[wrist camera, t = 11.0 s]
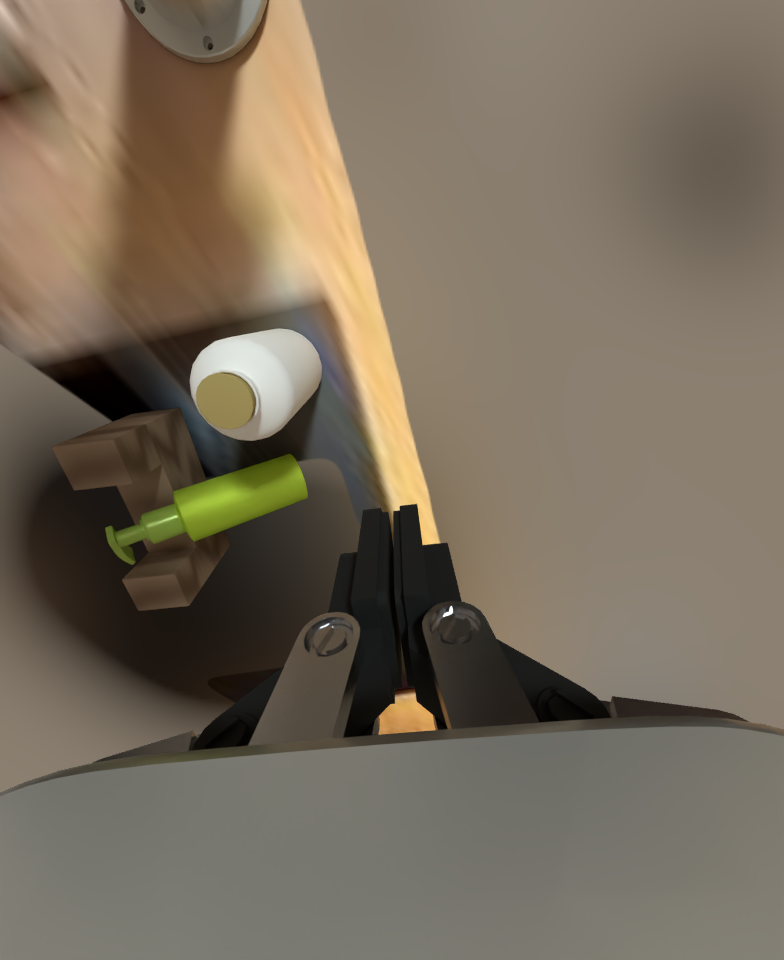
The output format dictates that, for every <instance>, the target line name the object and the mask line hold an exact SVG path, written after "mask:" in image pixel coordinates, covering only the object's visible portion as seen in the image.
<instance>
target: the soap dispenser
mask: <svg viewBox="0 0 784 960" xmlns="http://www.w3.org/2000/svg"><path fill="white" fill-rule="evenodd" d="M307 495H308V494H307V487H306V483H305V480H304V477H303V474H302V472H301V469H300V467H299V465H298V463H297V461H296V460H295V458H294V457H293V456H292V455H291V454H287V455H284V456H281V457H278V458H275V459H272V460H269V461H266V462H263V463H260V464H256V465H253V466H250V467H247V468H244V469H241V470H238V471H235V472H232V473H229V474H226V475H222V476H219V477H216V478H213V479H210V480H207V481H204V482H201V483H198V484H195V485H191V486H188V487H185V488H182V489H179V490H176V491H174V502H175V504H171V505H168V506H165V507H162V508H159V509H156V510H153V511H150V512H147V513H144V514H142V515H141V520H140V524H137V525H134V526H132V527H129V528H126V529H123V530H120V531H117V532H116V531H115V530H114V528H113V527H112V526H109V527H106V528H105V530H106V535H107V539H108V543H109V545H110V546H111V548H112V549H113V551H114V552H115V553H116V555H117V556H118V557H119V558H121V559H122V560H124V561H125V562H127V563H129V564H132V565H133V564H134V563H135V558H134V554H133V550H132V548H131V547H129V546H128V545H130V544H133V543H135V542H138V541H141V540H144V539H147V540H148V541H151V542H152V543H153V544H156V543H159V542H161V541H164V540H167V539H170V538H172V537H175V536H178V535H180V534H183V533H186V532H187V534H188V535H189V536H190V538H191V539H192V540H193V541H197V540H200V539H202V538H205V537H208V536H210V535H213V534H215V533H218V532H221V531H223V530H226V529H228V528H231V527H233V526H236V525H239V524H241V523H244V522H247V521H249V520H252V519H254V518H257V517H259V516H262V515H265V514H267V513H270V512H273V511H275V510H278V509H280V508H283V507H286V506H288V505H291V504H293V503H296V502H299V501H301V500H304V499H306V498H307Z"/></svg>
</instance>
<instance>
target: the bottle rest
mask: <svg viewBox="0 0 784 960" xmlns="http://www.w3.org/2000/svg"><path fill="white" fill-rule="evenodd" d="M51 448H52V450H53V451H54V454H55V455H56V457H57V459H58V461H59V463H60V465H61V467H62V468H63V470H64V472H65V474H66V476H67V478H68V480H69V481H70V483H71V485H72V487H73V489H74V490H83V489H91V488H100V487H109V486H117V488H118V490H119V492H120V494H121V496H122V498H123V500H124V502H125V504H126V506H127V508H128V511H129V513H130V515H131V517H132V519H133V521H134V523H135V525H137V524H140V520H141V515H142V514H144V513H147V512H150V511H153V510H156V509H159V508H162V507H165V506H168V505H171V504H175V502H174V491H176V490H179V489H182V488H185V487H188V486H191V485H195V484H198V483H201V482H204V481H207V480H206V478H205V475H204V472H203V469H202V467H201V464H200V461H199V458H198V456H197V453H196V450H195V447H194V445H193V442H192V439H191V436H190V434H189V431H188V428H187V425H186V423H185V420H184V417H183V415H182V412H181V409H180V408H174V409H166V410H158V411H150V412H143V413H135V414H131V415H128V416H126V417H123V418H121V419H119V420H116V421H114V422H111V423H109V424H106V425H104V426H102V427H99V428H97V429H94V430H92V431H89V432H87V433H85V434H82V435H80V436H77V437H75V438H73V439H70V440H68V441H65V442H63V443H61V444H58V445H55V446H53V447H51ZM143 542H144V544H145V546H146V548H147V550H148V552H149V553H148V554H147V555H146V556H145V557H144V558H143V559H142V560H141V561H140V562H139V563H138V564H137V565H136V566H135V567H134V568H133V569H132V570H131V571H130V572H129V573H128V574H127V575H126V576H125V577H124V578H123V579H122V581H123V583H124V585H125V587H126V588H127V590H128V592H129V594H130V596H131V598H132V599H133V601H134V603H135V605H136V607H137V609H138V611H143V610H153V609H163V608H173V607H183V606H189V605H190V604H191V602H192V601H193V599H194V598H195V596H196V595H197V593H198V592H199V590H200V589H201V587H202V586H203V585H204V583H205V582H206V580H207V579H208V577H209V576H210V574H211V573H212V571H213V570H214V568H215V567H216V565H217V564H218V562H219V561H220V559H221V558H222V556H223V555H224V554H225V552H226V551H227V549H228V548H229V546H230V543H229V541H228V538H227V535H226V533H225V530H223V531H221V532H218V533H215V534H213V535H210V536H208V537H205V538H202V539H200V540H197V541H193V540H192V539H191V538H190V536H189V535H188V534H187V532H186V533H183V534H180V535H178V536H175V537H172V538H170V539H167V540H164V541H161V542H159V543H156V544H153V543H152V542H151V541H148V540H147V539H144V540H143Z"/></svg>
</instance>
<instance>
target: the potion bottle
mask: <svg viewBox="0 0 784 960" xmlns="http://www.w3.org/2000/svg"><path fill="white" fill-rule="evenodd" d="M321 376H322V365H321V362H320V358H319V355H318V353H317V351H316V350H315V348H314V346H313V345H312V343H311V342H309V341H308V340H307V339H306V338H305V337H304V336H303V335H301V334H299V333H297V332H294V331H292V330H288V329H272V330H267V331H261V332H256V333H250V334H245V335H239V336H234V337H229V338H225V339H221V340H217V341H215V342H213V343H212V344H211V345H209V346H208V347H206V348H205V349H203V350H202V351H201V352H200V354H199V356H198V357H197V359H196V360H195V362H194V363H193V365H192V370H191V375H190V388H191V395H192V398H193V400H194V403H195V405H196V407H197V409H198V411H199V413H200V414H201V415H202V416H203V417H204V419H205V420H206V421H207V422H208V424H209V425H211V426H212V427H214V428H215V429H216V430H218V431H219V432H221V433H222V434H224V435H227V436H229V437H232V438H235V439H237V440H248V441H254V440H259V439H263V438H267V437H270V436H271V435H273V434H275V433H276V432H278V431H280V430H281V429H282V428H283V427H284V426H285V425H286V424H287V423H288V421H289V420H290V419H291V418H292V417H293V416H294V415H295V414H296V413H297V411H298V410H299V409H300V408H301V407H302V406H303V405H304V404H305V403H306V402H307V400H308V399H309V398H310V397H311V396H312V395H313V393H314V392H315V391H316V390H317V388H318V386H319V383H320V380H321Z"/></svg>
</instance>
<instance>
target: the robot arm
mask: <svg viewBox="0 0 784 960" xmlns="http://www.w3.org/2000/svg"><path fill="white" fill-rule="evenodd" d="M125 2H126V3H127V5H128V6H129V8H130V9H131V11H132V12H133V14H134V15H135V17H136V18H137V20H138V21H139V22H140V23H141V24H142V25H143V27H144V28H145V29H146V30H147V31H148V32H149V34H150V35H152V36H153V37H154V38H155V39H156V40H157V41H158V42H159V43H160V44H161V45H162V46H163V47H165V48H166V49H168V50H169V51H171V52H172V53H174V54H175V55H177V56H179V57H182V58H184V59H187V60H189V61H193V62H199V63H214V62H220V61H223V60H225V59H228V58H230V57H232V56H234V55H235V54H236V53H238V52H239V51H240V50H242V49H243V48H244V47H245V46H246V44H247V43H248V42H249V41H250V40H251V38H252V37H253V36H254V34H255V32H256V30H257V28H258V26H259V24H260V22H261V20H262V17H263V14H264V11H265V8H266V4H267V0H125ZM144 11H145V12H144ZM212 46H213V48H212V49H211V50H210V47H212ZM393 522H394V547H393V540H392V533H391V526H390V520H389V513H388V512H382V510H381V508H376V509H367V510H363V515H362V522H361V529H360V537H359V544H358V551H357V552H353V553H344V554H341V555H340V558H339V563H338V568H337V573H336V578H335V583H334V588H333V592H332V598H331V602H330V607H329V612H328V613H327V614H324V615H321V616H318V617H317V618H315V619H313V620H312V621H310V622H309V623H308V624H307V625H306V626H305V627H304V628H303V629H302V631H301V633H300V634H299V636H298V638H297V640H296V642H295V644H294V647H293V649H292V651H291V653H290V656H289V658H288V660H287V662H286V664H285V666H283V667H282V668H281V669H279V670H278V671H277V672H275V673H274V674H273V675H272V676H270V677H269V678H268V679H266V680H265V681H264V682H263V683H261V684H260V685H259V686H257V687H256V688H255V689H253V690H252V691H251V692H250V693H248V694H247V695H246V696H244V697H243V698H242V699H241V700H239V701H238V702H237V703H235V704H234V705H233V706H232V707H230V708H229V709H228V710H226V711H225V712H224V713H222V714H221V715H220V716H219V717H217V718H216V719H215V720H214V721H213V722H211V724H209V725H208V726H207V727H206V728H205V729H204V730H203V732H202V733H201V734H199V735H195V733H194V732H193V731H190V732H187V733H183V734H180V735H177V736H174V737H170V738H167V739H164V740H161V741H158V742H155V743H151V744H148V745H144V746H141V747H138V748H135V749H131V750H129V751H125V752H122V753H119V754H115V755H112V756H109V757H106V758H102V759H100V760H97V761H96V762H93V763H91V764H86V765H82V766H78V767H73V768H69V769H65V770H61V771H57V772H54V773H51V774H48V775H45V776H42V777H39V778H36V779H33V780H30V781H27V782H24V783H22V784H19V785H17V786H14V787H12V788H10V789H8V790H5V791H3V792H1V793H0V960H784V729H780V728H776V727H772V726H768V725H764V724H758V723H752V722H749V721H747V720H745V719H743V718H741V717H739V716H737V715H735V714H732V713H728V712H724V711H720V710H715V709H708V708H699V707H692V706H684V705H677V704H669V703H661V702H653V701H645V700H638V699H630V698H622V697H615V696H612V700H611V702H609V701H601V700H599V699H598V698H597V697H596V696H594V695H593V694H592V693H590V692H589V691H587V690H586V689H585V688H583V687H581V686H579V685H577V684H576V683H574V682H572V681H570V680H569V679H567V678H565V677H563V676H561V675H559V674H558V673H556V672H554V671H553V670H551V669H549V668H547V667H546V666H544V665H542V664H540V663H538V662H537V661H535V660H533V659H531V658H530V657H528V656H526V655H524V654H522V653H521V652H519V651H517V650H515V649H514V648H512V647H510V646H508V645H507V644H505V643H503V642H501V641H499V640H498V639H496V637H495V635H494V633H493V631H492V629H491V627H490V625H489V623H488V621H487V619H486V618H485V616H484V615H483V613H482V612H481V611H480V610H479V609H478V608H476V607H475V606H473V605H471V604H468V603H466V602H462V601H461V597H460V593H459V589H458V585H457V580H456V576H455V572H454V568H453V564H452V560H451V555H450V551H449V547H448V544H447V543H440V544H430V545H422V538H421V530H420V523H419V515H418V507H417V504H413V505H404V506H400V511H393ZM401 643H402V649H403V656H404V662H405V669H406V675H407V681H408V687H409V688H414V687H415V692H416V699H417V702H418V703H419V704H421V705H422V706H423V707H424V708H425V709H427V710H428V711H429V712H430V713H432V714H433V719H434V725H435V729H436V730H434V731H422V732H409V733H396V734H383V735H378V733H379V726H380V718H379V715H380V714H381V713H382V712H383V711H384V710H385V709H386V708H387V707H388V706H389V705H390V704H395V689H402V661H401Z"/></svg>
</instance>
